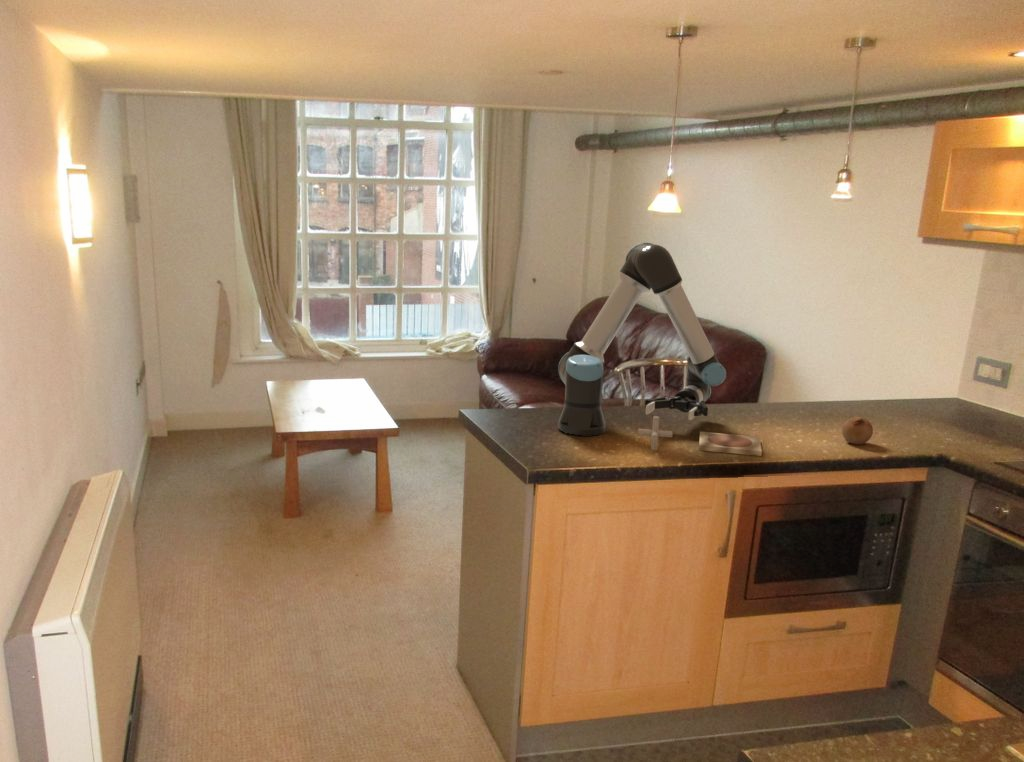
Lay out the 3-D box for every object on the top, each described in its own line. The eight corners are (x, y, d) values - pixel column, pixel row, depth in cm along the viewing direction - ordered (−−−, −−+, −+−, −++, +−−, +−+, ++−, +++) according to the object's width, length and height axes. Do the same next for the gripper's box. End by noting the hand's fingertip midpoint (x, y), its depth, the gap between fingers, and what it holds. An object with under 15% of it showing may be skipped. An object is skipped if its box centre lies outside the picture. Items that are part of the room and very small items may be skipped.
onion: (858, 455, 254) (863, 432, 248) (833, 441, 260) (838, 418, 254) (876, 441, 257) (881, 419, 251) (851, 428, 263) (856, 405, 258)
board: (698, 449, 243) (699, 444, 243) (699, 436, 259) (700, 430, 258) (761, 456, 239) (761, 450, 239) (758, 441, 255) (759, 435, 254)
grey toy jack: (670, 455, 237) (673, 422, 235) (636, 452, 239) (638, 419, 237) (671, 446, 246) (673, 414, 244) (638, 443, 248) (640, 411, 246)
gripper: (725, 415, 262) (707, 430, 244) (651, 405, 274) (629, 419, 256) (727, 392, 261) (709, 406, 242) (652, 383, 272) (630, 396, 254)
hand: (668, 413), depth 249 cm, fingers open, 13 cm apart
